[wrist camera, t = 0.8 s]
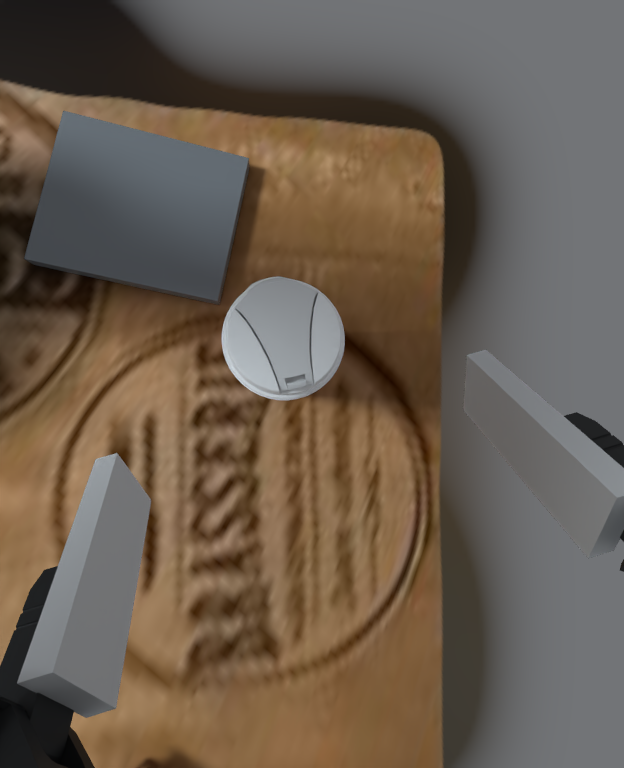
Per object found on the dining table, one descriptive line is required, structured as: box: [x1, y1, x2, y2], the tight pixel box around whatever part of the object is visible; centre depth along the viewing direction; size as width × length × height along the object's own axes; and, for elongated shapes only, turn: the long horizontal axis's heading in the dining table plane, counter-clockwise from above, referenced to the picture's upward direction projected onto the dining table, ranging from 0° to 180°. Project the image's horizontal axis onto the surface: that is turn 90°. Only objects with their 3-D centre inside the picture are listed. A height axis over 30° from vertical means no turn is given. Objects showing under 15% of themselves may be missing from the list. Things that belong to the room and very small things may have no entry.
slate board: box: [24, 111, 250, 305], centre depth 38 cm, size 18×15×2 cm
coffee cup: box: [222, 276, 345, 400], centre depth 32 cm, size 8×8×15 cm
